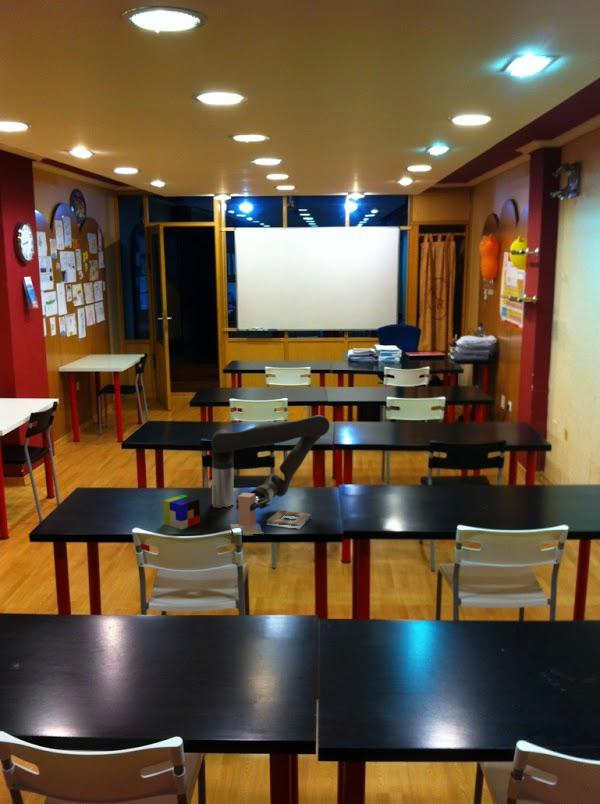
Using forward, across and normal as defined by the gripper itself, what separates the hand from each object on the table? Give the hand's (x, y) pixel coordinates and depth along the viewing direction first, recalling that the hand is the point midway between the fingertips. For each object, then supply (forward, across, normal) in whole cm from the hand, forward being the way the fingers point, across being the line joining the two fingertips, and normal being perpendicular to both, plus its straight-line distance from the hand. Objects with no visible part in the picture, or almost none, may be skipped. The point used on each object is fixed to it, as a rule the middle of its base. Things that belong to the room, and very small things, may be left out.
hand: (244, 507), depth 276 cm
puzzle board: (-18, +12, +10) cm, 23 cm away
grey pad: (-2, 0, +10) cm, 10 cm away
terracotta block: (-3, 0, +8) cm, 8 cm away
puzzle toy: (0, -28, +10) cm, 30 cm away
